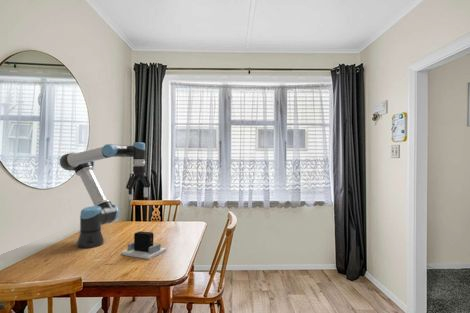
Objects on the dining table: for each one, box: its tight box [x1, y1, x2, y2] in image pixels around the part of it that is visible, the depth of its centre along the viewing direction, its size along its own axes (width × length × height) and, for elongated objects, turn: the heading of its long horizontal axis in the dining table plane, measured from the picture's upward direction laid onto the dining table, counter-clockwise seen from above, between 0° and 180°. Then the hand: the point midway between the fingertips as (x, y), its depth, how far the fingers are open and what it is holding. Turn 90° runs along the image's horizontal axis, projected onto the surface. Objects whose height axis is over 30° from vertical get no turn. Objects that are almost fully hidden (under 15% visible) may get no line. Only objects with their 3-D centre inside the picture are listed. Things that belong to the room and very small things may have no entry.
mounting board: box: [120, 241, 167, 260], centre depth 159 cm, size 20×15×5 cm
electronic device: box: [133, 230, 154, 252], centre depth 158 cm, size 4×10×10 cm, turn 74°
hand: (138, 198), depth 181 cm, fingers open, 13 cm apart
